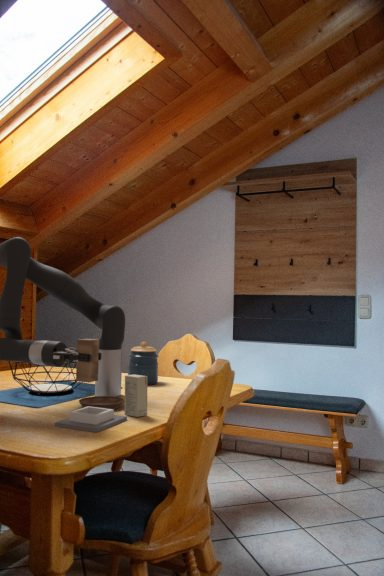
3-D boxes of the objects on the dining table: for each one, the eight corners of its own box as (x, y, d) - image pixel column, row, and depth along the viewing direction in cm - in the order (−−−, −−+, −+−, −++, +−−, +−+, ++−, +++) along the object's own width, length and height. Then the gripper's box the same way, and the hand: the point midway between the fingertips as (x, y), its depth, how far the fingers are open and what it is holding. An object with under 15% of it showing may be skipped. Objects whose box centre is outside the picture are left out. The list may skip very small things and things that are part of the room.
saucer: (75, 404, 172) (76, 396, 172) (118, 402, 177) (119, 394, 177) (81, 414, 158) (82, 405, 158) (128, 411, 163) (128, 403, 164)
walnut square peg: (85, 379, 151) (86, 338, 151) (97, 380, 149) (99, 339, 149) (75, 381, 147) (77, 339, 147) (89, 382, 145) (90, 340, 145)
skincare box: (147, 415, 158) (148, 376, 158) (137, 417, 155) (138, 377, 155) (133, 412, 162) (134, 373, 162) (123, 414, 159) (124, 374, 159)
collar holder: (87, 414, 157) (87, 403, 157) (126, 419, 152) (127, 408, 152) (54, 426, 142) (54, 413, 142) (96, 432, 137) (97, 419, 137)
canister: (130, 380, 224) (131, 340, 224) (159, 381, 224) (160, 340, 224) (124, 385, 211) (126, 342, 211) (156, 386, 211) (157, 343, 211)
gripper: (32, 342, 147) (81, 346, 141) (63, 339, 160) (109, 342, 154) (31, 368, 147) (80, 373, 140) (62, 363, 160) (109, 367, 153)
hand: (95, 357), depth 147 cm, fingers closed on walnut square peg, 4 cm apart
